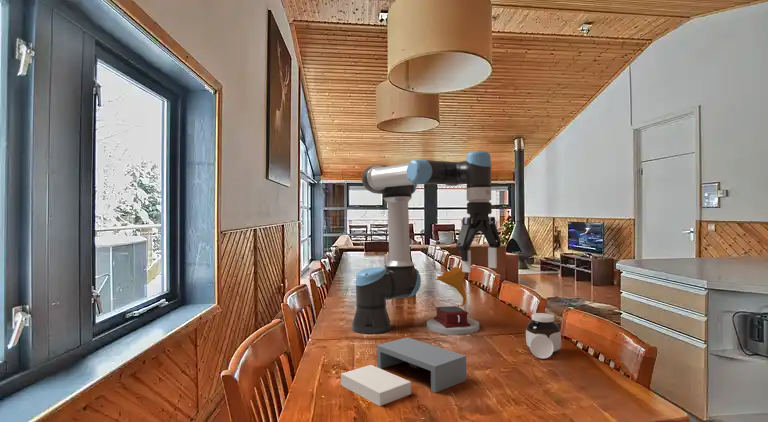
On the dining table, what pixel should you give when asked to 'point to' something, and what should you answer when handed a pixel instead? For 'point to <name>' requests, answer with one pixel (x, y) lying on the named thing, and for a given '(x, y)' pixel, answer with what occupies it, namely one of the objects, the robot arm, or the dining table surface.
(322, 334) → the dining table surface
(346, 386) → the pale grey flat slab
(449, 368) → the low overhang
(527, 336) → the spread jar
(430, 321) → the gramophone
